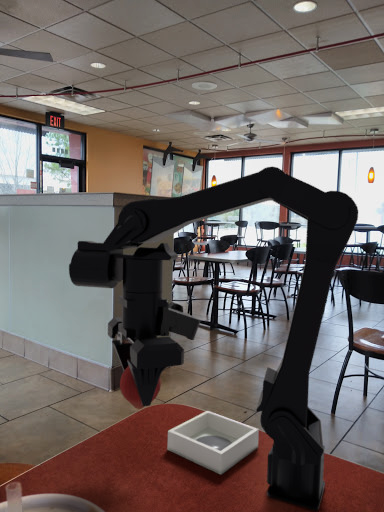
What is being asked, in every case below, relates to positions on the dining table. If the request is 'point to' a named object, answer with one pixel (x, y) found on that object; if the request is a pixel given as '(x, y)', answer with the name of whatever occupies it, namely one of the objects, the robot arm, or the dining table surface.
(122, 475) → the dining table surface
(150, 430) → the dining table surface
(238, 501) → the dining table surface
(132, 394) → the onion
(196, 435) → the tray
